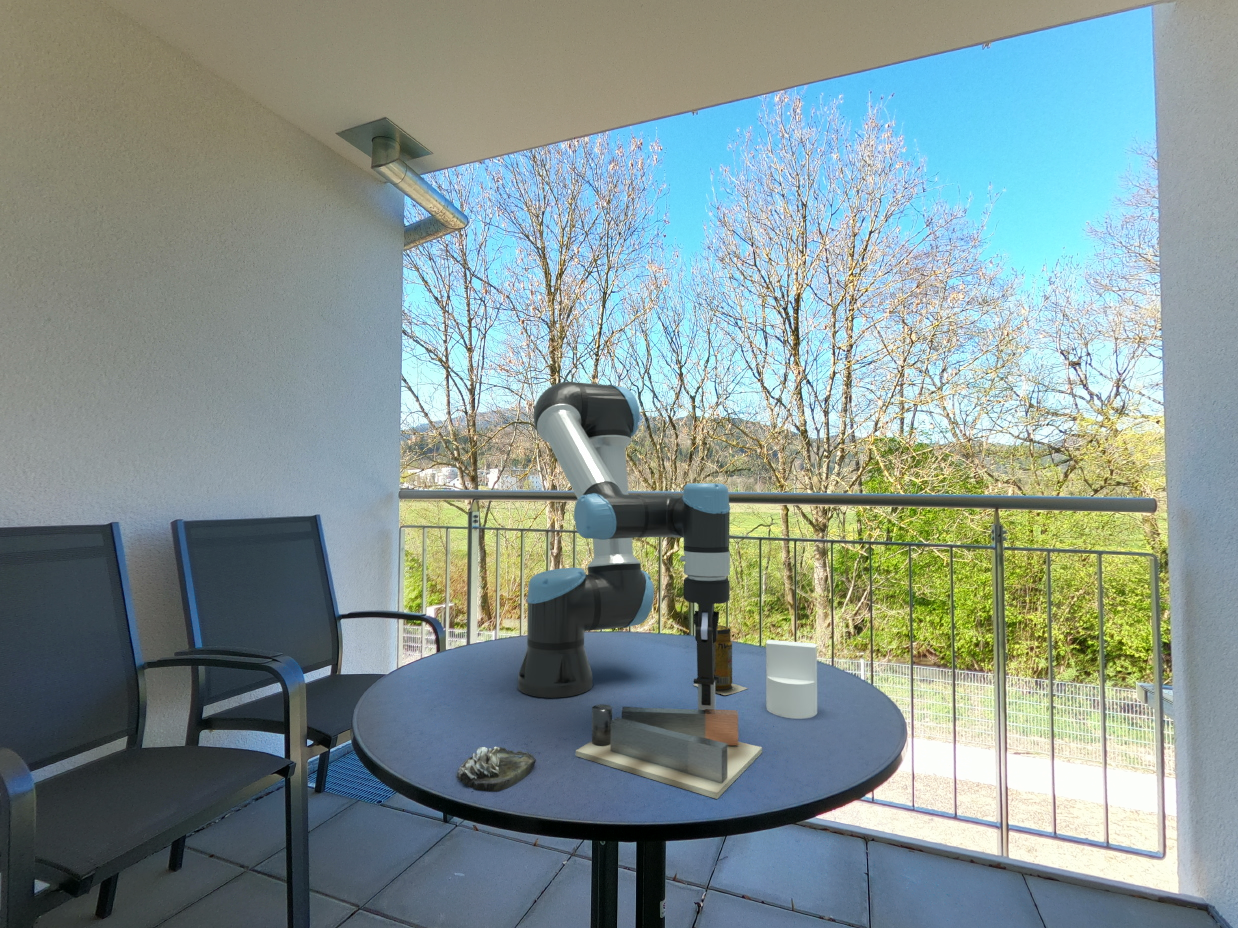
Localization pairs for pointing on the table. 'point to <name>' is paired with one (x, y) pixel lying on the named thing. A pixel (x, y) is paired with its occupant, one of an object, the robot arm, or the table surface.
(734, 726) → the tong arm
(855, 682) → the table surface
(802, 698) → the base with upright slab
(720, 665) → the condiment
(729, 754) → the board
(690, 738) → the tongs fixed
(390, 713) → the table surface
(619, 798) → the table surface
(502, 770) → the log
